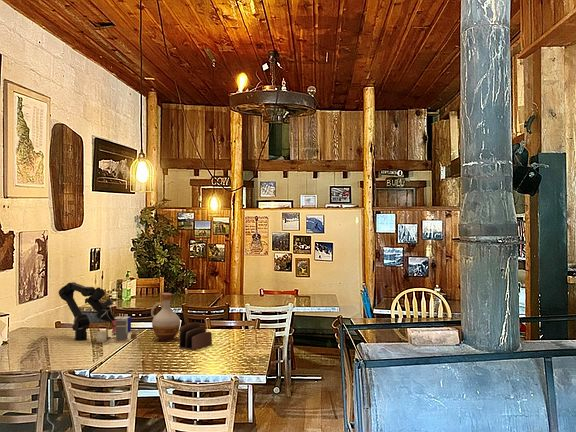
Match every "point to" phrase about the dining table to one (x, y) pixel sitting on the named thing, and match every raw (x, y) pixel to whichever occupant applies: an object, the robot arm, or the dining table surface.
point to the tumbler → (121, 329)
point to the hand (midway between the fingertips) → (113, 321)
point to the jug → (165, 320)
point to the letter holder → (194, 337)
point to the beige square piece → (101, 336)
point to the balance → (107, 331)
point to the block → (133, 335)
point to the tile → (122, 341)
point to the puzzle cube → (121, 318)
